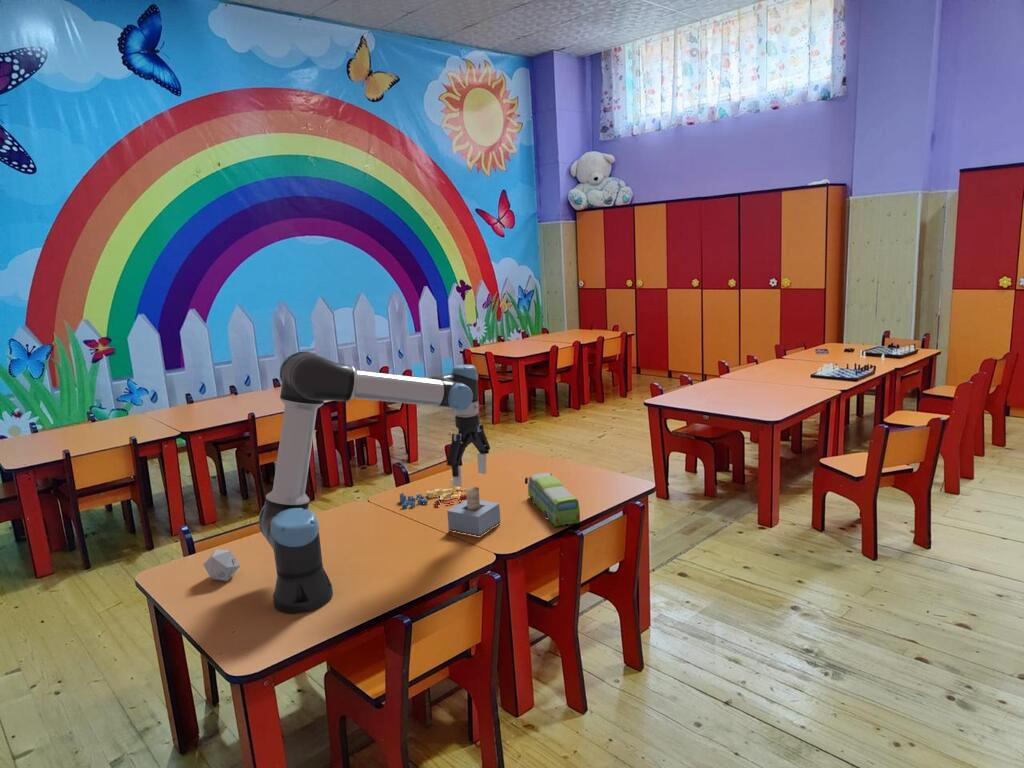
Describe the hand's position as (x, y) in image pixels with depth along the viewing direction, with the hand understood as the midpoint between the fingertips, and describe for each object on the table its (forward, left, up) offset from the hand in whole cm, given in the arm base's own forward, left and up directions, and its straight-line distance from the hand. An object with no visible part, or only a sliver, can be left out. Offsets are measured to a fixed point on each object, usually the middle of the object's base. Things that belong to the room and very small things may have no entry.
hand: (470, 479), depth 221 cm
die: (-60, +46, -17) cm, 77 cm away
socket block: (0, 0, -16) cm, 16 cm away
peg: (+1, 0, -15) cm, 15 cm away
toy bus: (+24, -16, -17) cm, 33 cm away
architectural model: (+22, +21, -17) cm, 35 cm away
